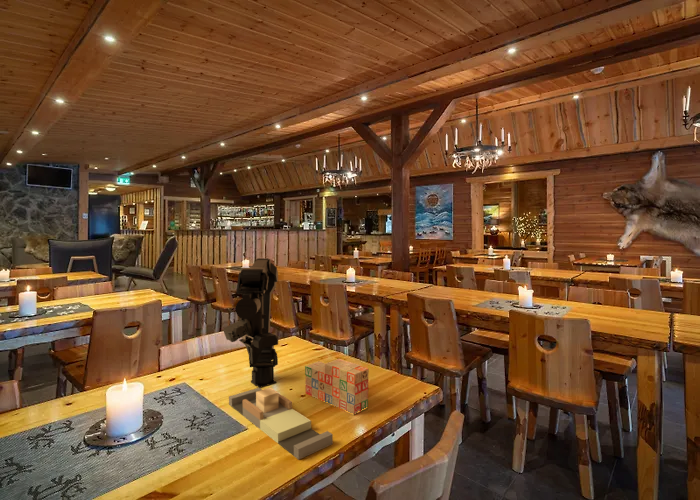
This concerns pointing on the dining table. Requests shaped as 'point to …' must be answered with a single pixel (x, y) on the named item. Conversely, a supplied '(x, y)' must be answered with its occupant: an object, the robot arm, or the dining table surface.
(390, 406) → the dining table surface
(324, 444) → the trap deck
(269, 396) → the maple block
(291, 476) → the dining table surface
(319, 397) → the stack of blocks
